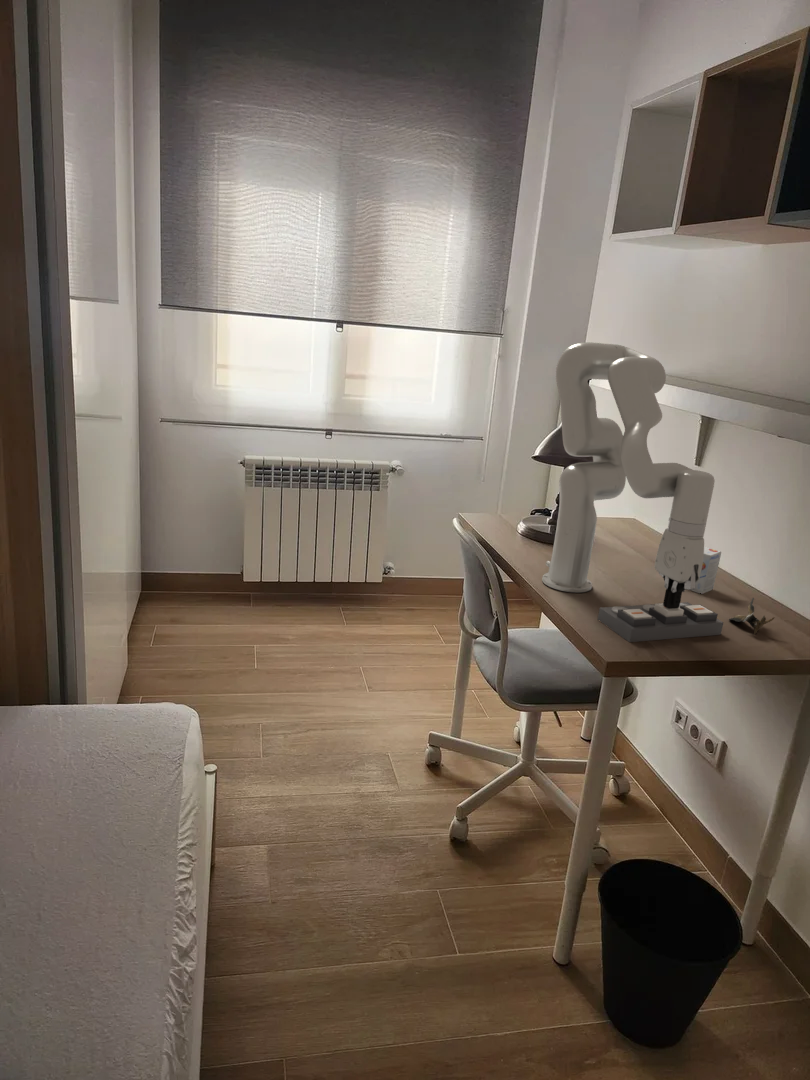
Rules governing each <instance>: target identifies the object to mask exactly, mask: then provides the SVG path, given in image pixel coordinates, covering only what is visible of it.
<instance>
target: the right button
mask: <svg viewBox="0 0 810 1080" xmlns="http://www.w3.org/2000/svg"><path fill="white" fill-rule="evenodd" d="M701 605H702V604H700V605H698V604H692V605H690V606H685V608H687V609H688V610H690V611H692V612H694V613H695V614H697V615H702V614H713V612H714V611H713V610H711V609H709V608H708V607H706V606H704V605H702V606H701ZM703 606H704V607H703ZM705 607H706V608H705ZM707 608H708V609H709V610H708V609H707ZM710 610H711V611H710ZM712 611H713V612H712Z"/></svg>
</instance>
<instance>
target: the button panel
mask: <svg viewBox="0 0 810 1080" xmlns="http://www.w3.org/2000/svg"><path fill="white" fill-rule="evenodd" d="M655 604H656V603H654V604H653V603H652V604H651V603H650V604H638V605H636V604H635V605H634V604H633V605H623V606H605V607H599V610H598V615H597V621H598V620H600V621H601V622H602V623H601V622H600V621H599V622H600V623H601V624H603V623H604V624H605V625H604V624H603V625H604V626H606V625H607V626H608V627H609V629H610V628H611V629H612V630H611V629H610V630H611V631H613V633H616V635H618V636H620V637H621V638H622V639H624V640H626V641H627V642H629V643H635V642H637V643H638V642H645V641H658V640H659V641H660V640H661V641H662V640H671V639H685V638H695V637H707V636H720V635H722V630H723V627H724V622H723V621H722V620H721V619H718V615H719V614H718V613H717V612H715V611H714V610H712V609H710V608H708V607H706V606H704V605H702V604H697V605H701V606H703V607H705V608H707V609H708V610H710V611H712V612H713V614H702V615H697V614H695V613H694V612H692V611H690V610H688V609H687V608H685V606H690V605H693V603H690V602H689V601H685V602H680V606H679V608H681V609H683V610H684V613H683V616H673V617H666V616H664V615H663V614H661V613H659V612H658V611H656V610H654V607H655ZM628 609H641V610H642V611H644V612H645V613H647V614H648V615H650V616H652V618H645V619H634V618H632V617H631V616H629V615H627V614H626V613H624V612H623V610H628ZM607 626H606V627H607ZM608 627H607V628H608Z"/></svg>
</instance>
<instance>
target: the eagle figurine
mask: <svg viewBox="0 0 810 1080" xmlns="http://www.w3.org/2000/svg"><path fill="white" fill-rule="evenodd" d="M754 600H755V598H754V597H752V599H751V601H750V602H749V604H748V607H747V610H748V614H747V615H743V614H741V615H740V614H737V615H735V616H732V617H731V618H729V619H728V621H735V622H737V623H738V622H739V623H740V622H743V623H745V622H747V623H748V624H749V625H750V626H751V627H752V628H753V629H754V630H753V631H754V632H753V633H754V635H756V634H757V632H758V631H759V630H760V629H761V628H762V627H763V626H764V625H766V624H767V623H771V622H772V621H773V620H774V619H775V618H776V617H775V616H773V617H772V618H770V619H767V618H766V615H763V616H762V617H761V619H758V618H757V617H756V616H755V615H754V614H755V606H754V605H753V603H754Z"/></svg>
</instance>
